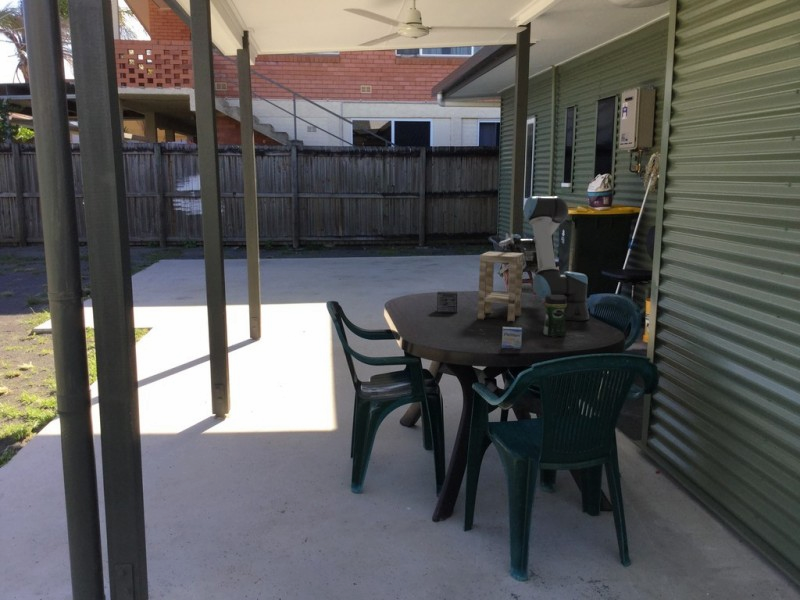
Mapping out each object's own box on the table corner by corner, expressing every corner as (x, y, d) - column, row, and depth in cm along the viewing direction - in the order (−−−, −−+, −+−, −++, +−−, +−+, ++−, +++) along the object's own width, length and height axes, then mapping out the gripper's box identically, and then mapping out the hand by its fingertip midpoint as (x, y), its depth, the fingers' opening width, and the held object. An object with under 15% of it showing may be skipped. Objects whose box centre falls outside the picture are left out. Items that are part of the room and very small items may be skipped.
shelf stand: (486, 312, 349) (488, 251, 343) (520, 315, 343) (523, 253, 337) (477, 318, 332) (480, 255, 327) (513, 321, 326) (516, 257, 320)
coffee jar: (561, 333, 304) (563, 293, 301) (567, 337, 296) (570, 296, 293) (540, 333, 303) (543, 293, 300) (546, 337, 295) (548, 296, 292)
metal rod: (509, 241, 353) (510, 237, 352) (513, 241, 352) (513, 238, 352) (499, 246, 329) (499, 242, 329) (503, 246, 328) (503, 242, 328)
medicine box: (501, 349, 275) (502, 328, 273) (501, 346, 279) (502, 326, 278) (521, 350, 274) (522, 329, 272) (520, 347, 278) (521, 327, 276)
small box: (457, 311, 351) (457, 291, 349) (457, 313, 345) (457, 293, 343) (437, 310, 352) (437, 290, 350) (436, 312, 346) (437, 292, 344)
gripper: (528, 261, 362) (522, 243, 341) (501, 259, 367) (493, 241, 346) (530, 248, 364) (524, 229, 343) (503, 247, 369) (495, 228, 348)
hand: (509, 235), depth 345 cm, fingers closed on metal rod, 2 cm apart
